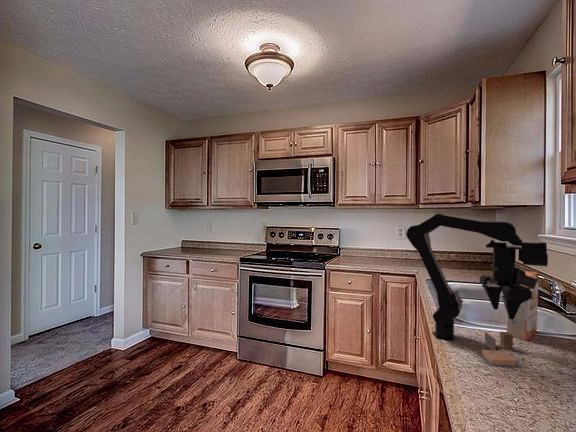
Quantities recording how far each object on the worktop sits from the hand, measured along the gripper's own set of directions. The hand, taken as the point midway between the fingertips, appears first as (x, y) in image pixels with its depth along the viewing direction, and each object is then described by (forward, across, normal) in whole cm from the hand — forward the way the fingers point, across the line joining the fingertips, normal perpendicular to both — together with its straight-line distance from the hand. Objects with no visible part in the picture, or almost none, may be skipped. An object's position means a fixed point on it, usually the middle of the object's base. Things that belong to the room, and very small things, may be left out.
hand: (503, 314), depth 98 cm
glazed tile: (+10, -8, +2) cm, 13 cm away
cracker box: (+11, +13, -13) cm, 22 cm away
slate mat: (+11, -8, +5) cm, 15 cm away
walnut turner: (+11, 0, +1) cm, 11 cm away
